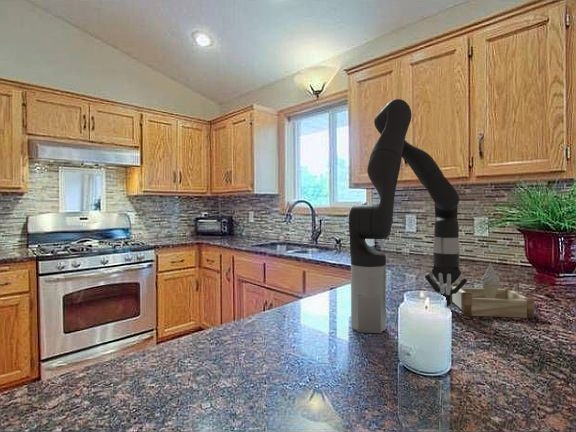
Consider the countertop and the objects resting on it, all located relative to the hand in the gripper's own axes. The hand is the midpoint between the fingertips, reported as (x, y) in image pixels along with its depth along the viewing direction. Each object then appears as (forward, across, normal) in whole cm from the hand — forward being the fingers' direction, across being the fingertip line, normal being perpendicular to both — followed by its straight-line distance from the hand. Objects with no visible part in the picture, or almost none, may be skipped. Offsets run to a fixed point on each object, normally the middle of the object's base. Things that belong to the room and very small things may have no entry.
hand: (446, 305), depth 113 cm
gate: (+1, -3, -4) cm, 5 cm away
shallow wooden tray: (+1, -11, -8) cm, 13 cm away
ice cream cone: (+1, -11, -8) cm, 14 cm away
